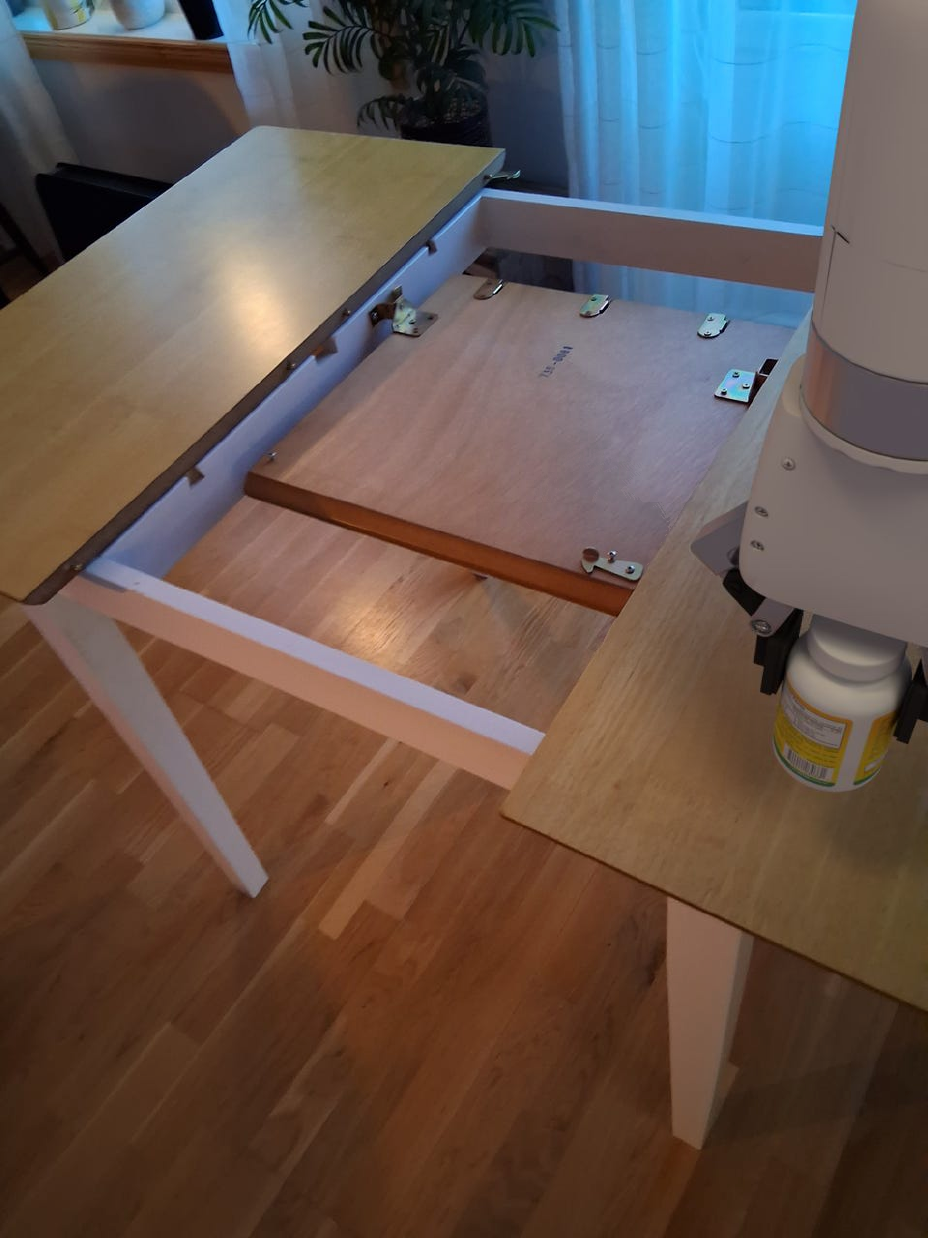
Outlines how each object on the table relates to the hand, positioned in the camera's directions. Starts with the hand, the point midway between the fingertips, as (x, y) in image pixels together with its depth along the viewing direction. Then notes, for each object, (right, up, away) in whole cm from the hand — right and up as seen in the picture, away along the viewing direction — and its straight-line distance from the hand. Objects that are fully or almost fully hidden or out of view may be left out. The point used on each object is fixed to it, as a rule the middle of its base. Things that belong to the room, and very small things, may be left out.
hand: (841, 692), depth 43 cm
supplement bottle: (+1, -3, +4) cm, 5 cm away
